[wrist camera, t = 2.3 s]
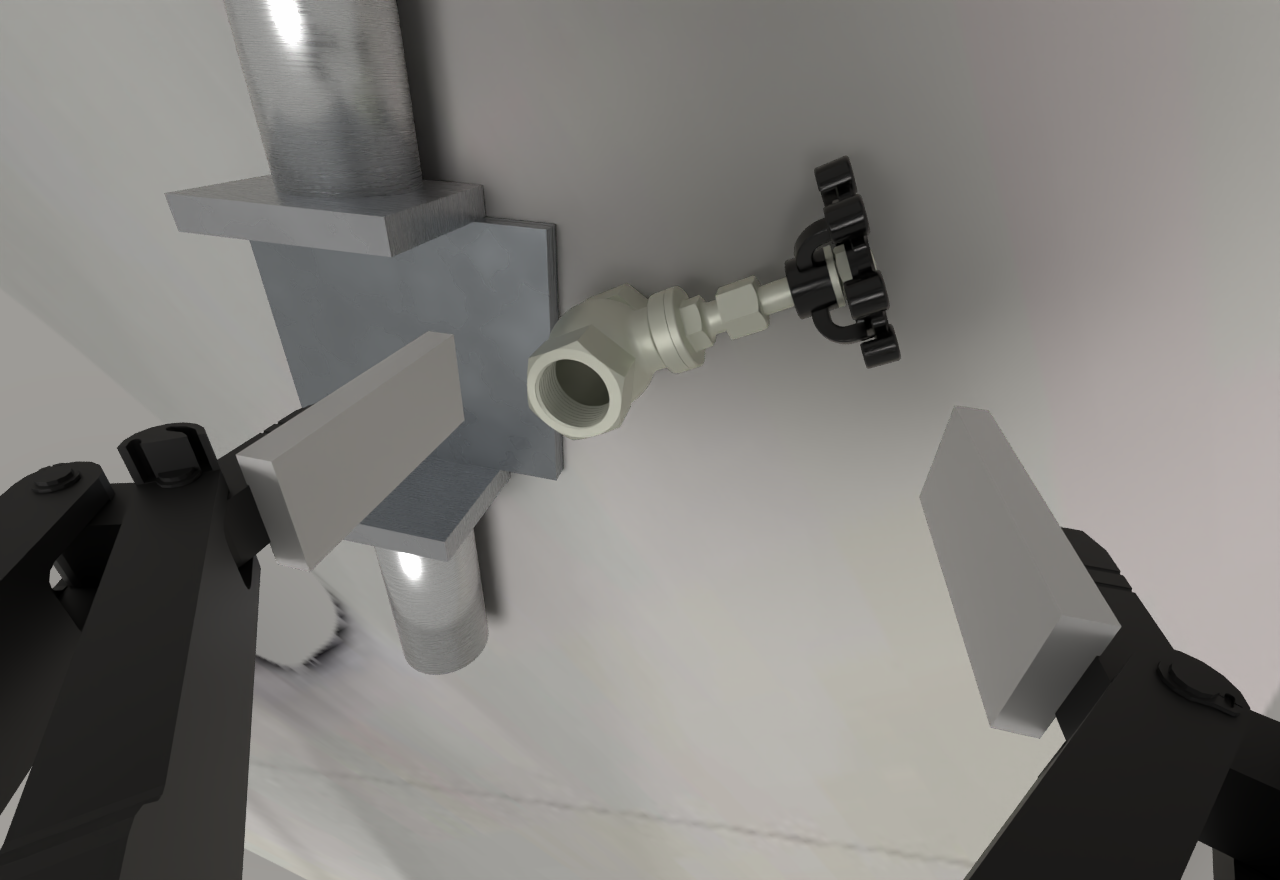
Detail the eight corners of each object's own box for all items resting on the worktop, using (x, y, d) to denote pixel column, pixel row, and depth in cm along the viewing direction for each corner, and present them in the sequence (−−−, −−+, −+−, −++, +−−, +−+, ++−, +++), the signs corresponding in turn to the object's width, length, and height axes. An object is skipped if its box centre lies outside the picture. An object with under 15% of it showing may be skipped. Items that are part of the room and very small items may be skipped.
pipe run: (129, -229, 18) (-147, -357, 13) (540, -247, 16) (408, -413, 11) (370, 585, 38) (300, 667, 33) (568, 631, 36) (527, 727, 31)
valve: (613, 403, 27) (885, 322, 22) (565, 486, 21) (913, 401, 16) (548, 270, 24) (841, 144, 19) (474, 325, 19) (857, 169, 14)
